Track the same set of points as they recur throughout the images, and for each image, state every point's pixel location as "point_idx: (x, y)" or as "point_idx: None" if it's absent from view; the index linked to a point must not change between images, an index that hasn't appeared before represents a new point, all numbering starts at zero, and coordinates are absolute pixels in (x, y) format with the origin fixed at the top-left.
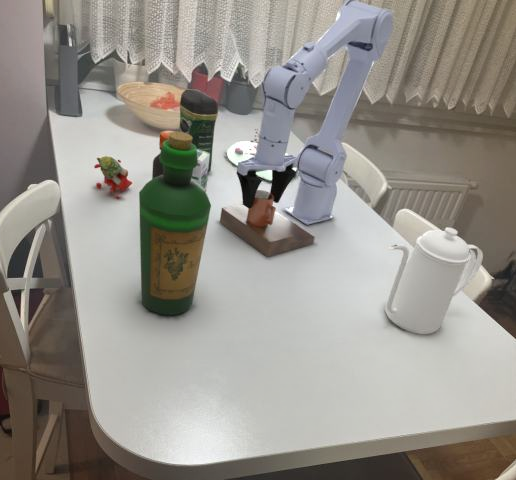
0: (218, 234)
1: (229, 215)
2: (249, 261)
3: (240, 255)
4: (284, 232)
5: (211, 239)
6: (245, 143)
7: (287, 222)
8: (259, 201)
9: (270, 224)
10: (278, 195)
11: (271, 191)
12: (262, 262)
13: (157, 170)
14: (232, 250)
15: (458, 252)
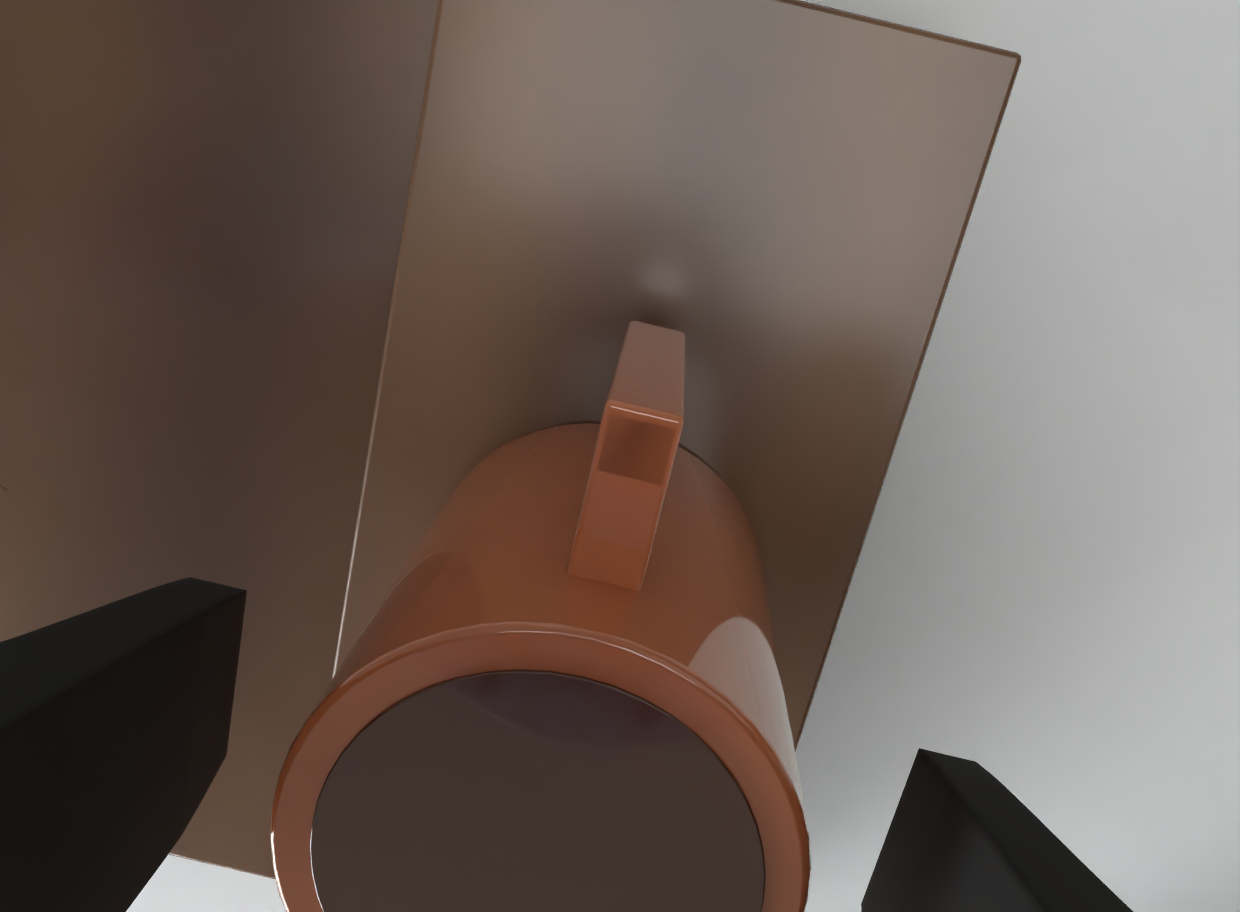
0: None
1: None
2: (1231, 158)
3: (1179, 326)
4: (507, 109)
5: (1103, 750)
6: None
7: (36, 377)
8: (790, 761)
9: (673, 332)
10: (155, 665)
11: (144, 864)
12: (1121, 25)
13: None
14: (1144, 461)
15: None
